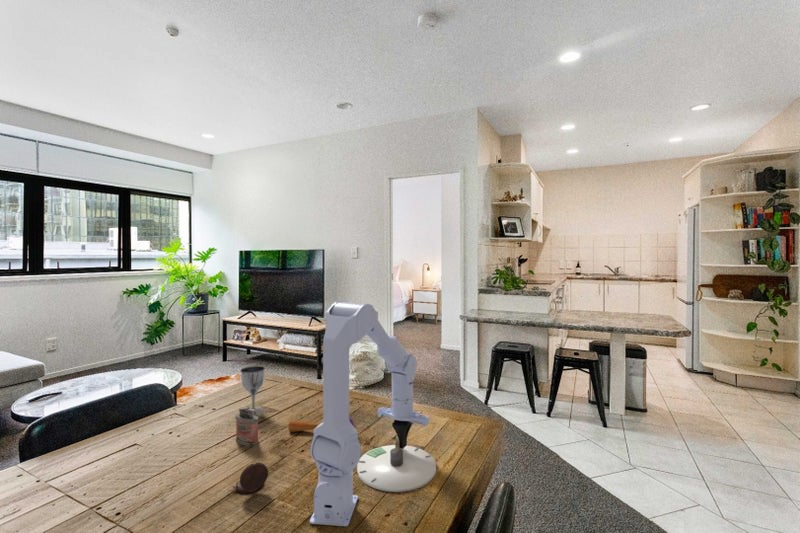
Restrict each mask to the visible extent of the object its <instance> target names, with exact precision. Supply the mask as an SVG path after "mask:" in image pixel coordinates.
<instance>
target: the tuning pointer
mask: <svg viewBox="0 0 800 533" xmlns="http://www.w3.org/2000/svg"><path fill="white" fill-rule="evenodd" d="M394 445H395V448H394V449H392V450H391V451H390V464H391V465H392V466H401V465H402V464H403V450H402V449H400V446H399V439H398V436H397V434H396V435H395V444H394Z"/></svg>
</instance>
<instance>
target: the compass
mask: <svg viewBox="0 0 800 533" xmlns="http://www.w3.org/2000/svg"><path fill="white" fill-rule="evenodd" d="M268 477H269V470H268V467H267V466H266V464H265V463H263V462H255V461H253V463H251V464H249V465H248V466H246V467H245V468H244V470H242V472H241V474H240V477H239V480H238V481H237V482H236V483H235V485H230V486H229V487H227V489H226V490H227V491H228V492H232V491H235V490H236V491H237V492H238V493H242V494H248V493H249V494H250V493H253V492H255V491H258V490H260V489H261V488H262V486H263V485H264V484H265V483H266V481H267V479H268ZM230 488H233V489H230Z"/></svg>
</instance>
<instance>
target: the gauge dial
mask: <svg viewBox="0 0 800 533" xmlns="http://www.w3.org/2000/svg"><path fill="white" fill-rule="evenodd" d="M394 448H395V444H390V445H383V446H379V447H375V448H373V449H370V450H369V451H367V452H365V453H364V454H363V455H362V456H360V459H359V462H358V464H357V466H356V472H357V475H358V478H359V479H360V480H361V481H362V482H363V483H364V484H365V485H366V486H369V487H371V488H373V489H376V490H379V491H382V492H389V493H392V492H393V493H403V492H409V491H414V490H416V489H419V488H422V487H424V486H426V485H427V484H429V483H430V482H431V481H432V480H433V479H434V477H435V476H436V474H437V473H436V472H437V463H436V460H435V458H434V457H433V456H432V455H431V454H430V453H429V452H427V451H425V450H423V449H421V448H419V447H415V446H411V445H407V446H406V447H405V448H403V449H402V448H400V449H402V450H403V464H402V465H401V466H392V465H391V464H390V451H391V450H392V449H394Z"/></svg>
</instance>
